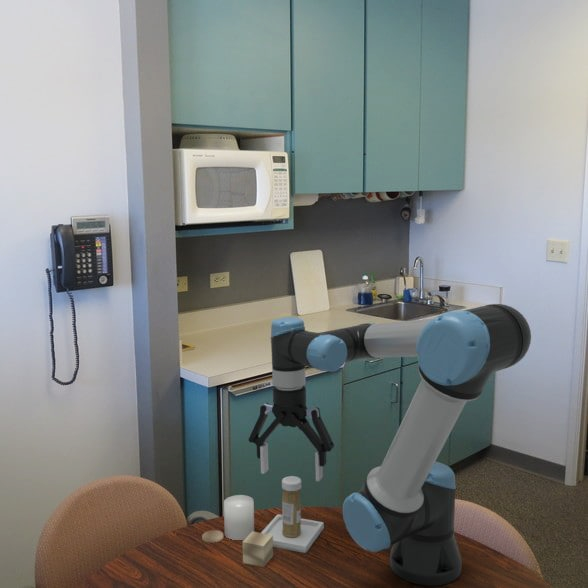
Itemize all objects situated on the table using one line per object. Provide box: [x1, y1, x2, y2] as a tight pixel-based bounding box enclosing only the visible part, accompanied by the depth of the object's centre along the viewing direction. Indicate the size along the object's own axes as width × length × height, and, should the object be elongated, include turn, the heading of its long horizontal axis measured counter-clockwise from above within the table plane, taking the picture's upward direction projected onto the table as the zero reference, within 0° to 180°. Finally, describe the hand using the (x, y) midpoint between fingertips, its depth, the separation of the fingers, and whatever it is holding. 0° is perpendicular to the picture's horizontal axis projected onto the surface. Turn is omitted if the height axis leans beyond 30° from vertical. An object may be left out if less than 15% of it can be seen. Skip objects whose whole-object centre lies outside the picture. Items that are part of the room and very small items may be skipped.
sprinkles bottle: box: [281, 475, 302, 538], centre depth 161 cm, size 5×5×13 cm
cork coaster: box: [201, 529, 225, 544], centre depth 162 cm, size 5×5×1 cm
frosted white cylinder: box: [223, 494, 255, 541], centre depth 164 cm, size 8×7×8 cm
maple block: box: [242, 531, 274, 568], centre depth 152 cm, size 5×5×5 cm
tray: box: [260, 513, 325, 554], centre depth 162 cm, size 12×12×2 cm
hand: (291, 475), depth 160 cm, fingers open, 13 cm apart
